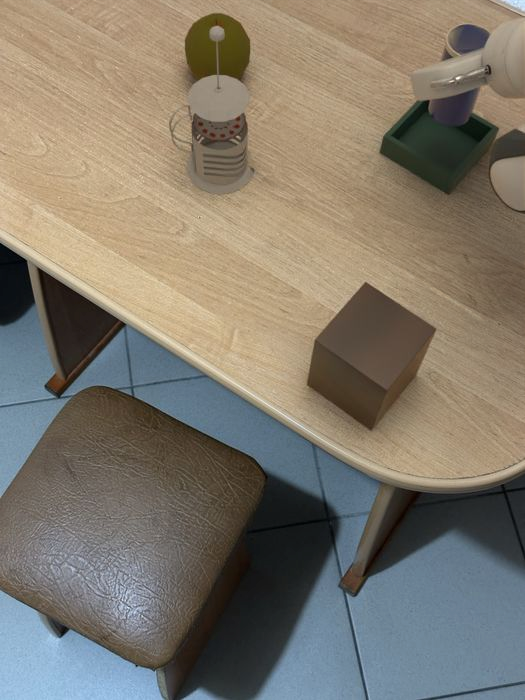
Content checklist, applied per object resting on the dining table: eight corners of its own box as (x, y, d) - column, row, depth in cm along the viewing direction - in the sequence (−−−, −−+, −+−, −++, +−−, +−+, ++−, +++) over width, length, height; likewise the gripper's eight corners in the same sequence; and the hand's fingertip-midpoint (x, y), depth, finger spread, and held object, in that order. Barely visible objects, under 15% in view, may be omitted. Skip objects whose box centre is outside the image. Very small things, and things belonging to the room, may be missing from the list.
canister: (481, 107, 115) (505, 38, 105) (457, 134, 113) (479, 66, 102) (443, 86, 117) (463, 16, 106) (418, 112, 115) (436, 42, 104)
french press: (261, 188, 119) (266, 52, 97) (180, 200, 118) (166, 66, 95) (247, 136, 123) (249, -6, 101) (169, 147, 122) (153, 6, 100)
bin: (491, 148, 124) (499, 127, 120) (447, 198, 119) (454, 179, 115) (423, 108, 127) (429, 87, 123) (378, 156, 122) (383, 135, 118)
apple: (235, 108, 126) (236, 51, 116) (176, 90, 127) (171, 32, 117) (259, 62, 130) (261, 4, 120) (201, 45, 131) (198, -14, 122)
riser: (416, 374, 106) (436, 328, 96) (371, 431, 102) (387, 390, 92) (352, 330, 109) (365, 281, 98) (306, 384, 105) (314, 339, 94)
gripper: (450, 112, 95) (395, 114, 108) (599, 61, 99) (529, 69, 112) (439, 56, 93) (384, 65, 106) (591, 6, 97) (520, 20, 110)
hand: (459, 66), depth 109 cm, fingers closed on canister, 6 cm apart
